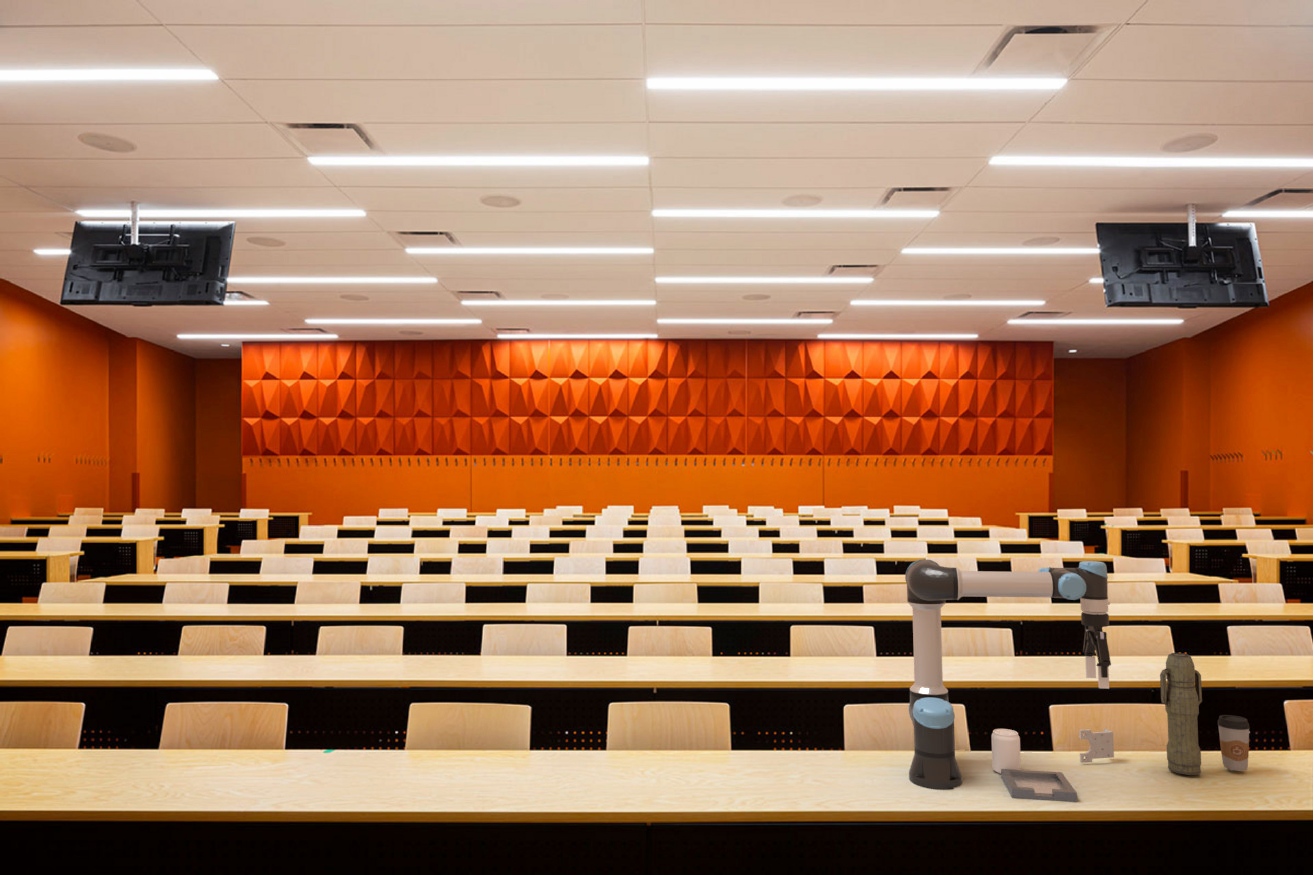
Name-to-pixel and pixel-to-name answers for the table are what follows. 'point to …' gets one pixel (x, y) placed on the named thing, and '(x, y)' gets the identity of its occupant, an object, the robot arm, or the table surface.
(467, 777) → the table surface
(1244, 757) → the coffee cup
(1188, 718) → the thermos
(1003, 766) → the beverage can
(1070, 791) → the chassis pocket
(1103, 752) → the bracket
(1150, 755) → the table surface
